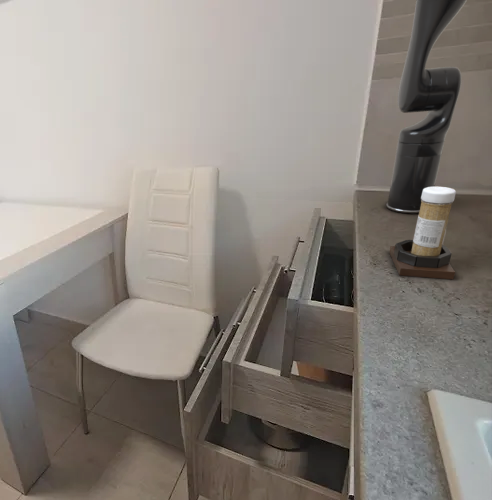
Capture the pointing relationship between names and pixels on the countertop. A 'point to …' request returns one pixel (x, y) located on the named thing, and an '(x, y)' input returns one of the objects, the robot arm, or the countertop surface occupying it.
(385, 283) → the countertop surface
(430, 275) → the base pad
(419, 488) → the countertop surface
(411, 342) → the countertop surface
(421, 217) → the sprinkles bottle
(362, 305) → the countertop surface
